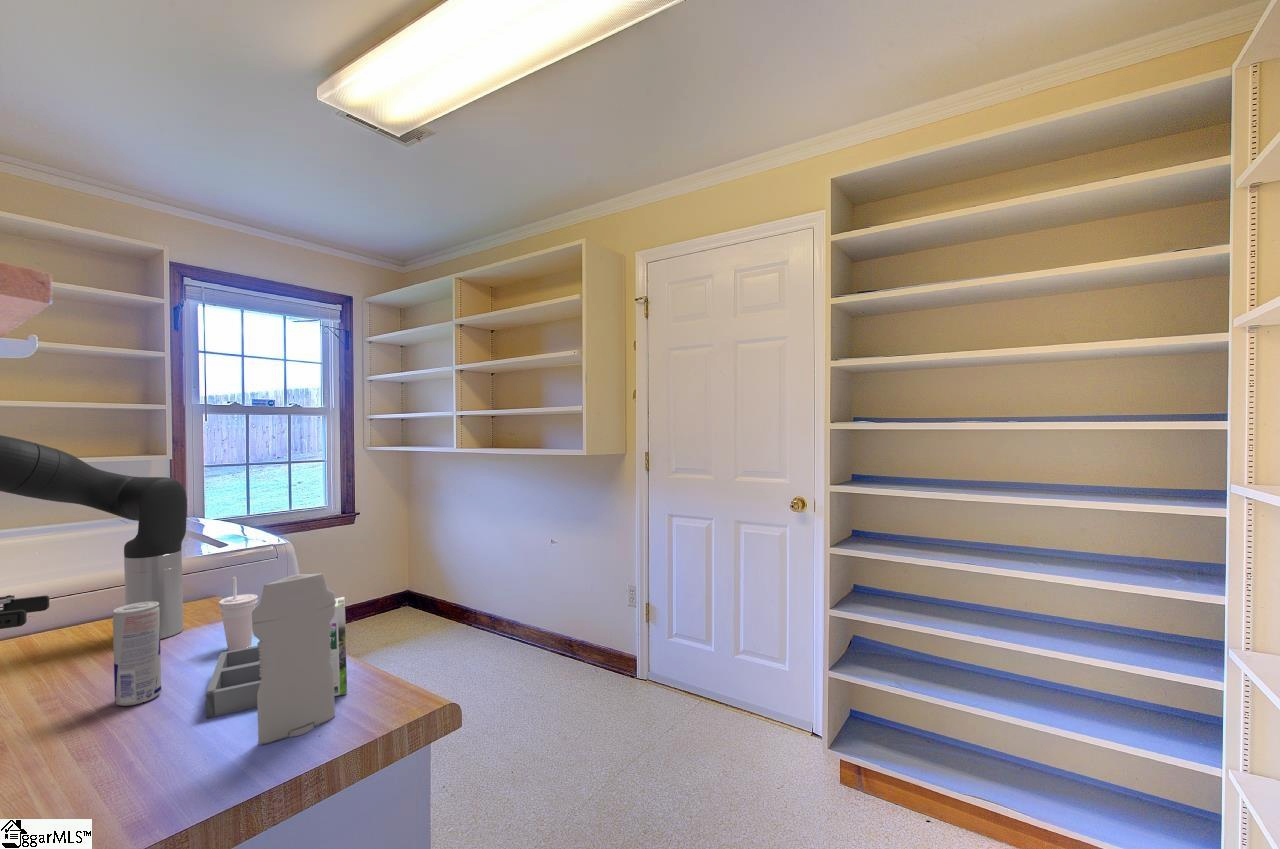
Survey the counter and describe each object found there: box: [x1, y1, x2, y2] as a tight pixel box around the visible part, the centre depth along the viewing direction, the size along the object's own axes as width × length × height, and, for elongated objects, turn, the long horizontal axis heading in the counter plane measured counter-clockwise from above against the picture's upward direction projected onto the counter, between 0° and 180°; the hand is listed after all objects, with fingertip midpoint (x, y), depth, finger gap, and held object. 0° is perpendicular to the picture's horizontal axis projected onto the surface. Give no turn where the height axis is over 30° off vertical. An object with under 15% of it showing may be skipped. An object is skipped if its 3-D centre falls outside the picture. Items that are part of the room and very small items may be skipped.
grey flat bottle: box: [252, 572, 336, 746], centre depth 81 cm, size 11×4×22 cm, turn 139°
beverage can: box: [112, 602, 162, 707], centre depth 91 cm, size 6×6×15 cm
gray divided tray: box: [205, 645, 261, 719], centre depth 95 cm, size 18×10×4 cm, turn 31°
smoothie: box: [218, 576, 259, 651], centre depth 112 cm, size 6×6×14 cm
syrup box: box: [330, 596, 348, 697], centre depth 93 cm, size 6×6×14 cm
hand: (37, 609), depth 85 cm, fingers open, 8 cm apart
